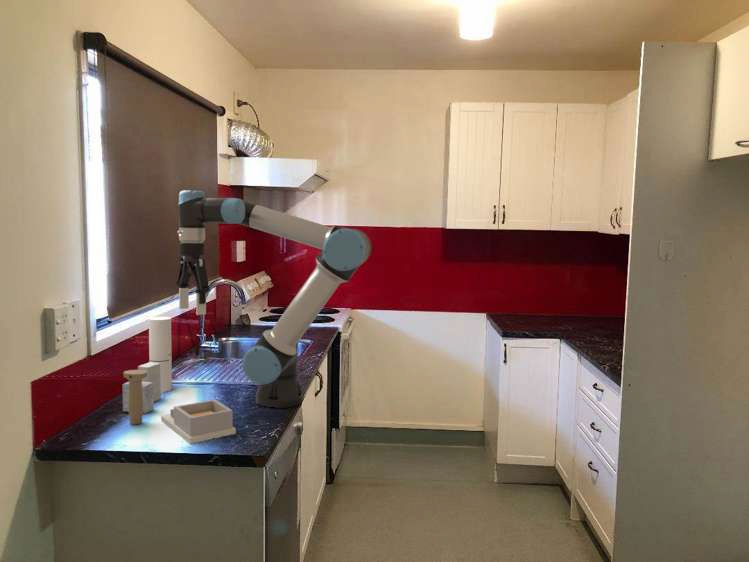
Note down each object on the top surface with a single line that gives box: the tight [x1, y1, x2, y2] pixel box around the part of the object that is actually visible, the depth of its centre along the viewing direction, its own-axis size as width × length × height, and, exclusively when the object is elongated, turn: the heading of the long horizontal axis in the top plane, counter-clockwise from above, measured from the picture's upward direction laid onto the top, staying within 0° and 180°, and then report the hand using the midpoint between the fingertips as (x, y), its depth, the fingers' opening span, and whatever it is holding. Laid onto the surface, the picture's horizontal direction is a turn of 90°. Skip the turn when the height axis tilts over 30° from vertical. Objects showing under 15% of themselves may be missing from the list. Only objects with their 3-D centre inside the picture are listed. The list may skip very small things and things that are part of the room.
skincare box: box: [137, 361, 162, 402], centre depth 189 cm, size 6×4×12 cm
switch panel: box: [160, 399, 237, 445], centre depth 167 cm, size 13×22×6 cm, turn 39°
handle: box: [122, 369, 147, 425], centre depth 168 cm, size 5×6×15 cm
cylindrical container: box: [148, 316, 173, 393], centre depth 201 cm, size 7×7×25 cm
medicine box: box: [122, 381, 155, 414], centre depth 179 cm, size 8×4×9 cm, turn 77°
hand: (192, 311), depth 179 cm, fingers open, 13 cm apart
